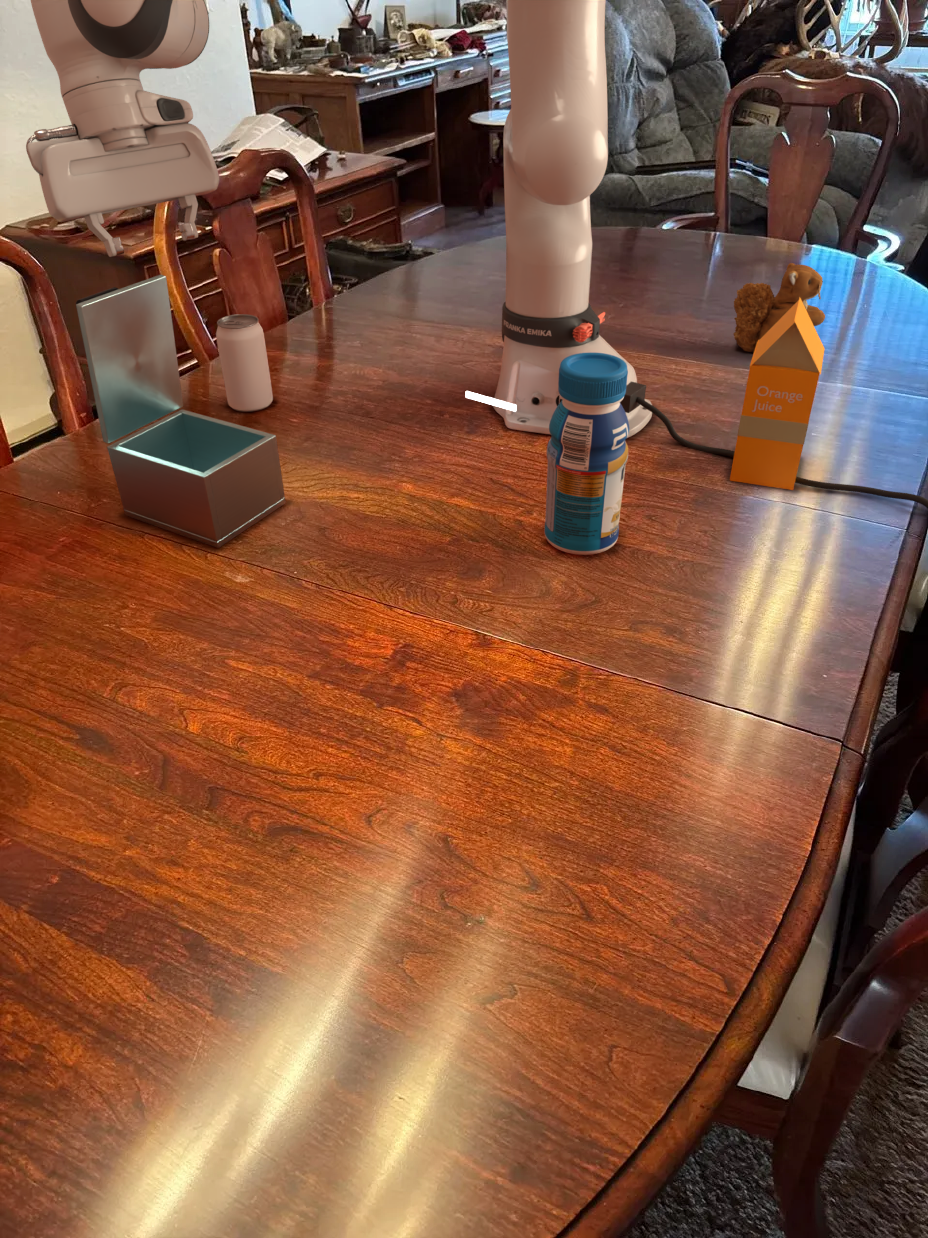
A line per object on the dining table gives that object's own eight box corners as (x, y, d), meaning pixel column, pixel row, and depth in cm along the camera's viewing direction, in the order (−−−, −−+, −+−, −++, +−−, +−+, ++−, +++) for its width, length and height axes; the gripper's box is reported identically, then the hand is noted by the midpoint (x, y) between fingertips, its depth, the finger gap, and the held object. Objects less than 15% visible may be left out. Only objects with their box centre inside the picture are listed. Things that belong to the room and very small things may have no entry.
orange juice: (728, 480, 112) (757, 317, 101) (737, 449, 119) (765, 293, 107) (794, 490, 110) (832, 324, 98) (800, 458, 117) (836, 299, 105)
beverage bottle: (529, 527, 104) (535, 355, 92) (595, 512, 107) (609, 342, 95) (565, 565, 98) (576, 385, 86) (633, 547, 100) (654, 371, 89)
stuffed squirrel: (814, 365, 142) (834, 278, 134) (721, 355, 146) (734, 269, 138) (818, 344, 149) (836, 259, 141) (729, 334, 153) (742, 252, 145)
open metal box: (286, 503, 109) (276, 434, 104) (218, 548, 101) (203, 477, 96) (195, 474, 116) (182, 408, 110) (125, 515, 108) (106, 446, 102)
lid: (166, 275, 100) (131, 264, 102) (81, 306, 92) (45, 293, 94) (183, 406, 110) (151, 393, 112) (108, 443, 102) (75, 429, 104)
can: (263, 414, 130) (250, 330, 123) (220, 410, 131) (205, 327, 124) (280, 396, 135) (268, 314, 128) (238, 393, 136) (225, 311, 129)
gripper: (25, 125, 97) (76, 262, 102) (202, 100, 107) (240, 226, 112) (13, 138, 102) (62, 268, 107) (183, 114, 112) (220, 233, 117)
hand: (154, 246), depth 110 cm, fingers open, 8 cm apart
